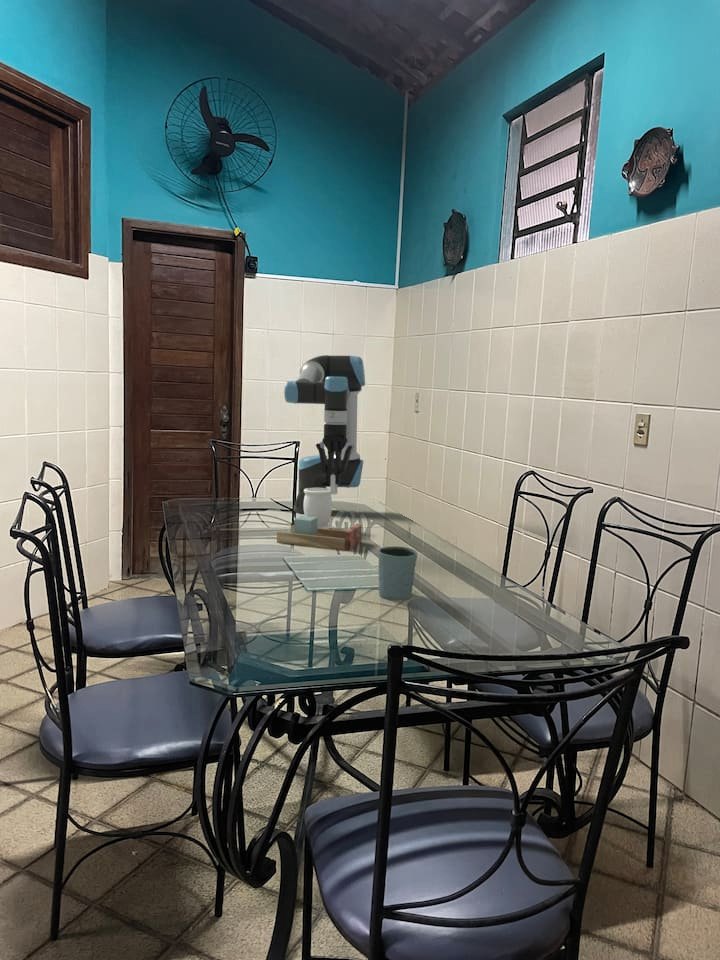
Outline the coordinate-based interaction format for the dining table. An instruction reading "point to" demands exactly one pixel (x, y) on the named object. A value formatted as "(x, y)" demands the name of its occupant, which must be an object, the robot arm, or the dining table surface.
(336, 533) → the trough
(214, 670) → the dining table surface
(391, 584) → the blue-grey cup
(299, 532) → the block
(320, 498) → the jar
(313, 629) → the dining table surface
